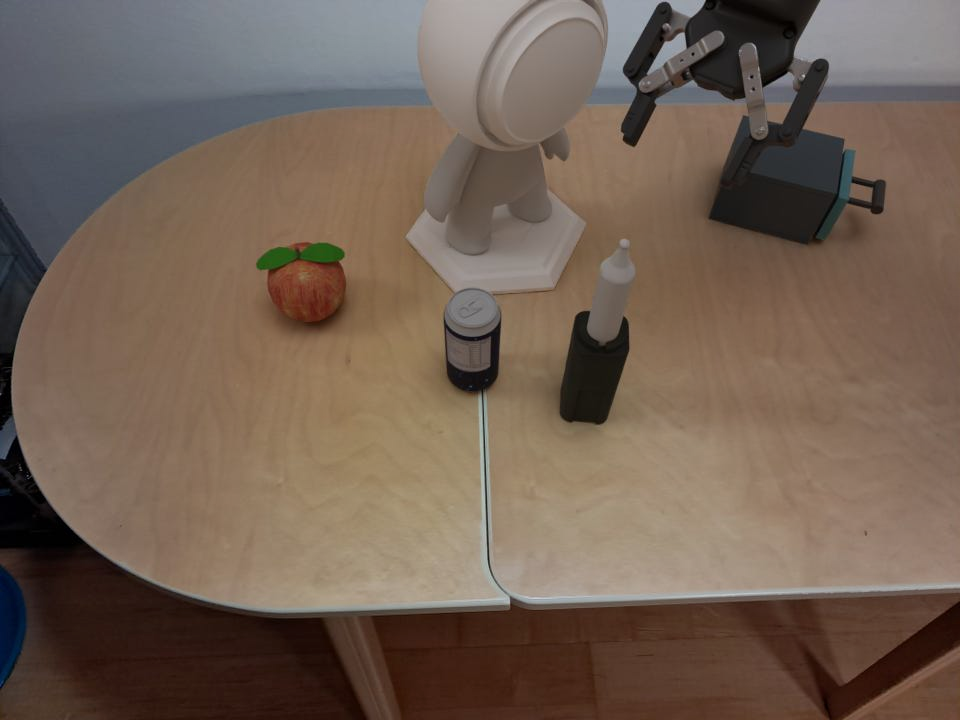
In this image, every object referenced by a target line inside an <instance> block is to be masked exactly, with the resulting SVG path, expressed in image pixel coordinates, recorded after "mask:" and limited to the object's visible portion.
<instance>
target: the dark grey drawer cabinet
mask: <svg viewBox="0 0 960 720" xmlns="http://www.w3.org/2000/svg"><path fill="white" fill-rule="evenodd" d="M767 121H768V125H782V123H779V122H775V121H770V120H767ZM750 133H751V129H750V123H749V116H748V115H745V114H743V115H742V116H741V120H740V122H739V125H738V127H737V130H736V133H735V136H734V138H733V141H732V143H731V146H730V148H729V152H728V154H727V157H726V159H725V162H724V165H723V167H722V171H721V175H720V178H719V181H718V185H717V188H716V191H715V195H714V199H713V202H712V206H711V209H710V213H709V216H708V219H710V220H713V221H715V222H716V221H717V222H720V223H724V224H728V225H731V226H735V227H739V228H743V229H746V230H749V231H750V230H751V231H753V232H758V233H762V234H766V235H769V236H773V237H776V238H780V239H783V240H788V241H791V242H796V243H800V244H804V245H807V246H808V245H809V244H810V241H811V240H812V238H813V236H814V234H816V231H817V228H818V226H819V224H820V222H821V221H822V219H823V217H824V215H825V214H826V212H827V210H828V208H829V207H830V205H831V203H832V201H833V199H834V198H835V196H836V194H837V189H838V182H839V175H840V168H841V162H842V155H843V153H844V147H845V141H846V140H845V138H843V137H839V136H834V135H831V134H826V133H822V132H818V131H813V130H809V129H804V128H803V129H802V131H801V133H800V135H799V137H798V139H797V141H796V143H795V144H794V145H793V146H791V147H783V146H768V147H766V148H765V149H764V150H763V151H762V152H761V154H760V156H759V158H758V159H757V161H756V163H755V165H754V167H753V168H752V170H751V172H750V174H749V176H748V177H747V179H746V181H745V182H743V183H742V184H741V185H738V184H735V183H734V185H733V187H732V188H731V190H729V189H727V188H725V187H722V186H721V184H720V182H721V180H722V178H723V176H724V174H725V172H726V170H727V168H728V167H729V165H730V163H731V161H732V159H733V158H734V156H735V154H736V152H737V150H738V148H739V147H740V145H741V143H742V141H743V139H744V138H745V137H747V138H748V137H749V135H750Z"/></svg>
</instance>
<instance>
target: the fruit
mask: <svg viewBox="0 0 960 720" xmlns="http://www.w3.org/2000/svg"><path fill="white" fill-rule="evenodd" d="M345 255H346V252H345V251H344V250H343V249H342V248H341V247H339V246H337V245H334V244H332V243H329V242H316V243H313V242H309V241H304V242H303V241H302V242H295V243H293V244H290V245H287V246H277V247H274V248H270V249H269V250H267V251H266V252H265V253H263V254H262V255H261V256H260V257H259V258H258V259H257V261H256V263H255V267H256V269H257V270H258V271H267V282H266V285H267V291H268V294H269V296H270V298H271V300H272V303H273V304H274V305H275V306H276V308H277V309H278V310H279V311H280V312H281V313H282V314H284V315H285V316H286V317H289V318H291V319H293V320H294V321H298V322H306V323H312V322H313V323H314V322H318V321H322V320H324V319H326V318H328V317H329V316H331V315H332V314H334V313H335V312H336V311H337V309H338V308H339V307H340V305H341V304H342V302H343V300H344V297H345V294H346V288H347V278H346V274H345V270H344V267H343V265H342V264H341V262H340V261H342V260H343V259H345Z"/></svg>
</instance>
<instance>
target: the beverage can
mask: <svg viewBox="0 0 960 720" xmlns="http://www.w3.org/2000/svg"><path fill="white" fill-rule="evenodd" d="M442 315H443V331H444V333H443V335H444V349H445V351H444V352H445V363H446V364H445V367H446V375H447V379H448V381H450V383H451V384H452V385H453V386H454V387H455V388H457V389H459V390H461V391H464V392H469V393H476V392H482V391H484V390H486V389H489V388H490V387H491V386H492V385H494V383H495V382H496V380H497V378H498V376H499V371H500V370H499V369H500V367H499V366H500V350H501V349H500V348H501V333H502V332H501V331H502V310H501V308H500V305H499V304H498V302H497V300H496V298H495V296H494V295H492V294H491V293H489V292H488V291H486V290H483V289H480V288H465V289H461V290H459V291H457V292H456V293H454V292H453V294H452V295H451V296H450V297H449V299H448V301H447V304H446V305H445V308H444V309H443V314H442Z"/></svg>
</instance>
